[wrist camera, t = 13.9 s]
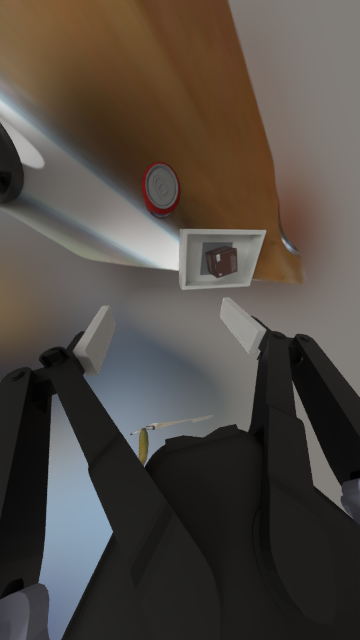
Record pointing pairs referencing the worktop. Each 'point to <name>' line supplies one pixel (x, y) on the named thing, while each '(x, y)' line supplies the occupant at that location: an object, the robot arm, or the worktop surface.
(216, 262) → the box
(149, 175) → the beverage can
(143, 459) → the vegetable
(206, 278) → the tray
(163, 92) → the worktop surface
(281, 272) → the worktop surface
